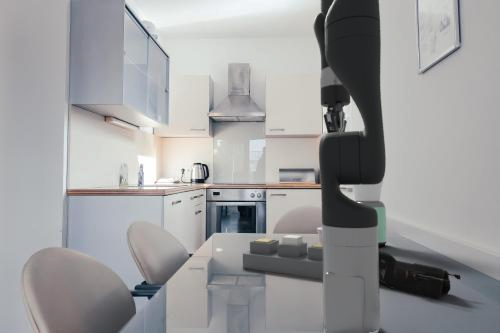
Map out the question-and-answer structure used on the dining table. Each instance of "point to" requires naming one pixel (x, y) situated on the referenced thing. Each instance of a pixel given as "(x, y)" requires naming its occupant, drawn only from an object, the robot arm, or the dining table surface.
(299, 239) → the white square block
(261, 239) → the gold square block
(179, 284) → the dining table surface
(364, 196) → the juicer
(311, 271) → the console
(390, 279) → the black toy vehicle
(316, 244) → the brass metal cube
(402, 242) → the dining table surface
